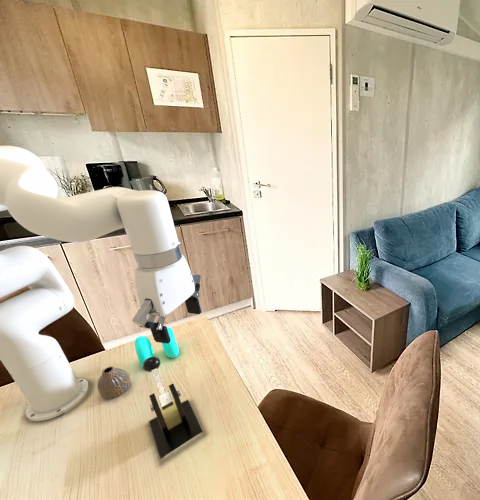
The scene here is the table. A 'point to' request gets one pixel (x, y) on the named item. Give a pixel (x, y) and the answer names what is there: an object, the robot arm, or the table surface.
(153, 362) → the ball knob lever
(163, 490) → the table surface
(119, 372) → the vase
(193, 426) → the black lever base
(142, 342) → the turquoise capsule pair
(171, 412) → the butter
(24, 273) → the robot arm
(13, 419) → the table surface
